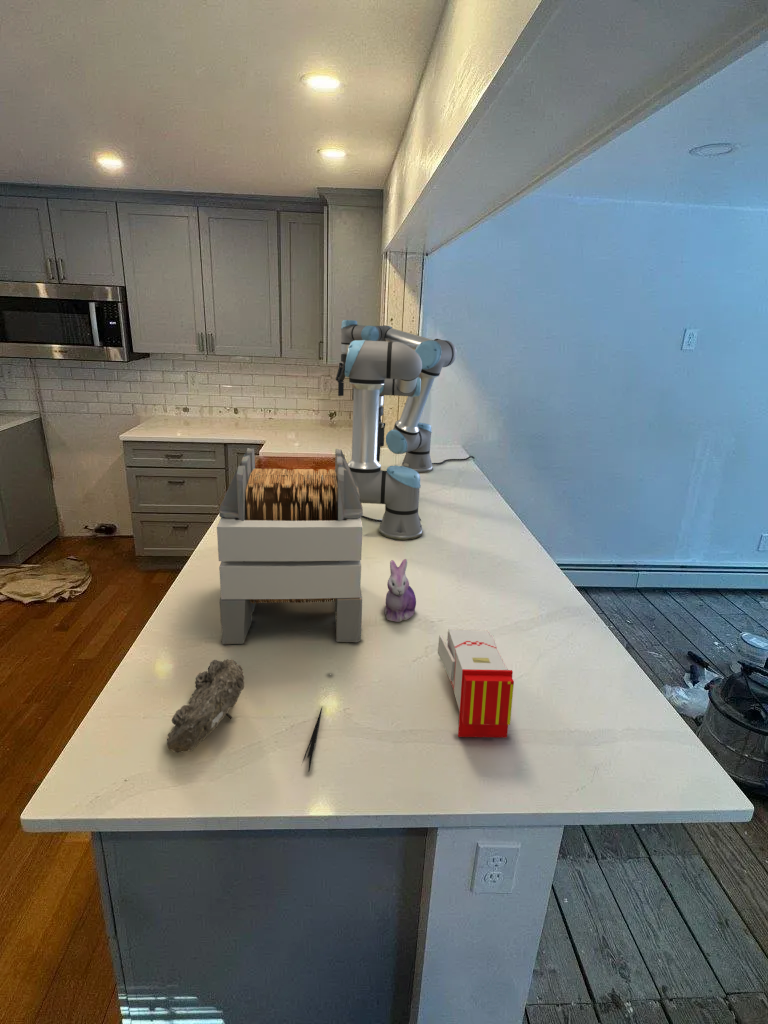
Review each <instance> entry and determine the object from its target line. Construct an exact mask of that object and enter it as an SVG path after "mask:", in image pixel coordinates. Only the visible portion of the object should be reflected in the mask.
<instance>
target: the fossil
mask: <svg viewBox="0 0 768 1024" xmlns="http://www.w3.org/2000/svg"><path fill="white" fill-rule="evenodd" d="M243 670H244V669H243V667H242V665H240V664H237V662H236V661H235V660H234V659H232V658H231V659H227V658H226V659H224V660H223V661H222V660H217V659H212V660H211V661H210V663H209V665H208V666H207V671H201V672H199V673H198V674H197V675H196V676H195V680H194V684H195V685H194V687H195V689H194V690H193V693H192V694H191V697H190V698H189V700H188V704H184V705H182V706H181V707H180V709H177V710H176V711H175V713H174V715H173V716H172V718H171V723H172V724H173V727H172V730H171V731H170V732H168V734H167V738H166V741H167V742H166V745H167V749H168V750H169V751H173V752H174V753H176V754H178V753H182V752H188V751H189V752H192V751H193V750H195V748H196V747H197V746H199V744H200V743H201V742H203V741H204V740H205V739H206V738H207V737H208V736H209V735H210V734H211V733H212V732H214V730H215V729H217V727H218V726H219V724H220V722H221V721H222V720H223V719H224V718H225V716H226V717H227V719H229V720H233V717H232V715H230V714H229V710H230V709H231V708H234V706H235V704H236V703H237V702H238V699H239V697H240V695H241V693H242V691H243V690H245V689H244V688H245V675H244V671H243Z"/></svg>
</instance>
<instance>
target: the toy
mask: <svg viewBox="0 0 768 1024" xmlns="http://www.w3.org/2000/svg"><path fill="white" fill-rule="evenodd" d="M446 640H447V643H446V641H445V639H444V636H443V635H442V634H439V637H438V646H437V656H438V657H439V659H440V661H441V663H442V666H443V668H444V670H445V672H446V674H447V677H448V679H449V681H450V684H451V687H452V690H453V693H454V697H455V701H456V705H457V708H458V711H459V714H458V715H459V716H458V730H457V731H458V732H457V737H458V738H508V731H509V726H510V725H511V717H512V707H513V697H514V696H513V695H514V684H515V680H514V679H513V673H514V671H513V670H512V669H508V667H507V665H506V662H505V661H504V659H503V658H502V655H501V653H500V651H499V649H498V647H497V643H496V639H495V637H494V635H493V634H491V632H490V631H489V629H467V628H466V629H465V628H463V629H461V628H460V629H459V628H448V630H447V639H446Z"/></svg>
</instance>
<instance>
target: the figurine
mask: <svg viewBox="0 0 768 1024" xmlns="http://www.w3.org/2000/svg"><path fill="white" fill-rule="evenodd" d="M407 567H408V559H406V558H404V559H403V560H402V561H401V563H400V565H399V566H398V565H397V563H396V562H395V561H394V560H393V559H391V560H390V561H389V570H390V576H389V578H388V579H387V589H388V591H387V592H386V594H385V595H386V596H385V607H384V615H385V616H386V620H387V621H391V622H395V623H400V622H402V621H406V620H409V619H410V618H411V617H413V616H414V615H415V610H416V606H417V597H416V593H415V591H414V590H413V587H411V586H410V582H409V579H408V577H407V574H406V571H407Z"/></svg>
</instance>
